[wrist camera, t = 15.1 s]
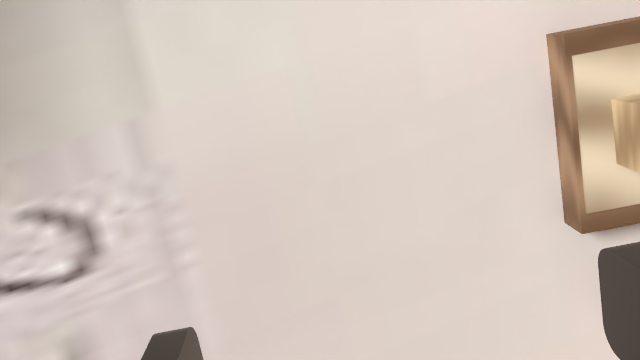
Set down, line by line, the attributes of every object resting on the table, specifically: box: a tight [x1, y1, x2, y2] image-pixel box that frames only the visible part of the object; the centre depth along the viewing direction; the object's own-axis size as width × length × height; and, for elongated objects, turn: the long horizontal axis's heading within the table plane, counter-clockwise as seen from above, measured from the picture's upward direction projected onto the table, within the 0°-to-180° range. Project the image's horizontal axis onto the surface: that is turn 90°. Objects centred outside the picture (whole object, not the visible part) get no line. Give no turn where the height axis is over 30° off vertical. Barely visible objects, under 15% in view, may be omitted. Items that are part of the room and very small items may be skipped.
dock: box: [547, 17, 640, 234], centre depth 43 cm, size 14×10×3 cm
